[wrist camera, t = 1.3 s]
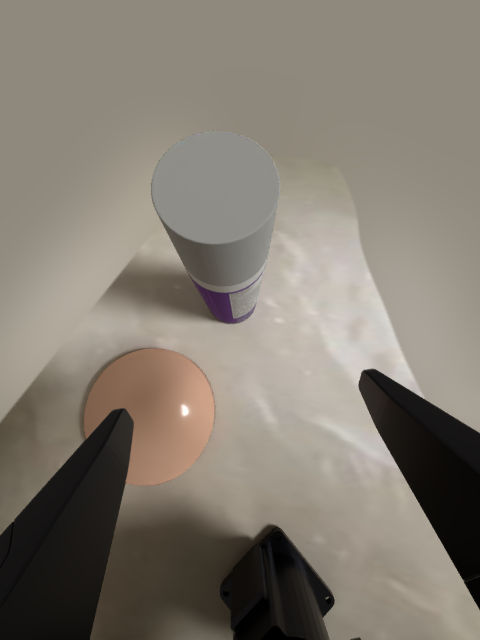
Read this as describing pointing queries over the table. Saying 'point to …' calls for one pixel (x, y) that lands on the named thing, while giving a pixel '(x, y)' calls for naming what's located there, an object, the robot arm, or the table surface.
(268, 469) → the table surface
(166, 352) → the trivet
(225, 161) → the container
